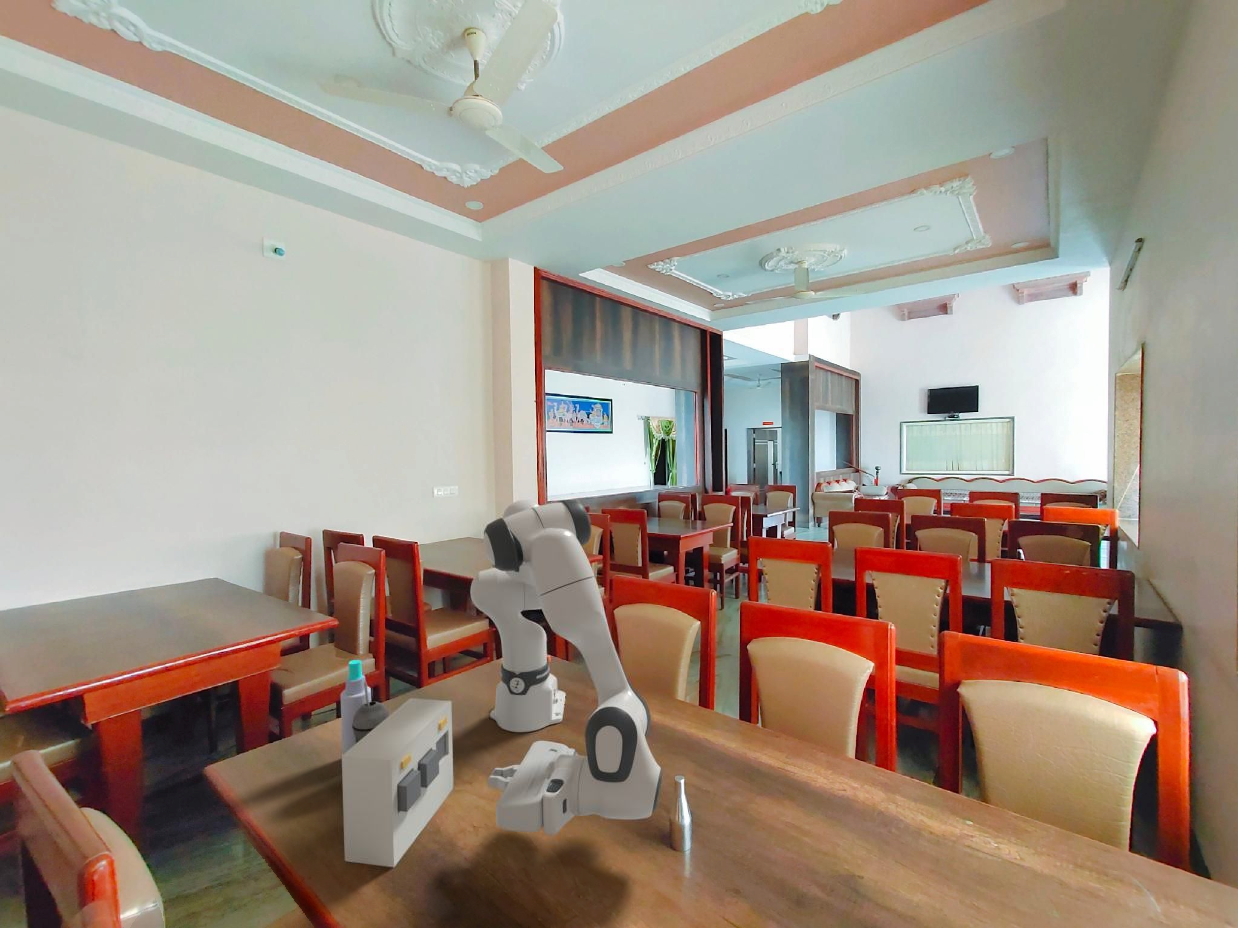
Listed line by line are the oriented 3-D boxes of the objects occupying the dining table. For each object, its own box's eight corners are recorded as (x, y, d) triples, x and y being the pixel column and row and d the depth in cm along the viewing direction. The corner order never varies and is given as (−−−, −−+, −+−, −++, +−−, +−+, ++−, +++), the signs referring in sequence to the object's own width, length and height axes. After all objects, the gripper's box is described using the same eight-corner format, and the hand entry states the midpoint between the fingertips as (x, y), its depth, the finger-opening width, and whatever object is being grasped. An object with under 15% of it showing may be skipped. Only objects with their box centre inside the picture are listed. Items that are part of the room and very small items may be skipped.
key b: (428, 751, 110) (427, 729, 110) (445, 752, 109) (445, 731, 109) (416, 764, 105) (416, 741, 105) (434, 765, 105) (434, 743, 105)
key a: (401, 793, 97) (400, 768, 96) (420, 795, 96) (420, 770, 96) (386, 809, 92) (386, 783, 92) (407, 811, 92) (406, 785, 91)
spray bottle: (336, 763, 120) (333, 665, 119) (358, 749, 126) (356, 655, 125) (356, 769, 118) (353, 668, 117) (378, 754, 124) (376, 658, 123)
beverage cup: (377, 788, 111) (374, 691, 111) (345, 784, 113) (342, 688, 112) (398, 767, 119) (396, 676, 118) (368, 763, 120) (366, 673, 119)
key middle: (420, 771, 103) (420, 748, 103) (439, 773, 102) (438, 750, 102) (408, 785, 99) (407, 761, 99) (427, 787, 98) (426, 763, 98)
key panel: (412, 784, 113) (410, 698, 112) (455, 788, 111) (453, 701, 110) (344, 860, 92) (341, 755, 91) (396, 867, 90) (393, 760, 90)
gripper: (581, 734, 105) (512, 729, 107) (549, 803, 84) (465, 795, 87) (581, 766, 105) (512, 761, 107) (550, 843, 85) (466, 834, 87)
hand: (491, 776), depth 97 cm, fingers closed
